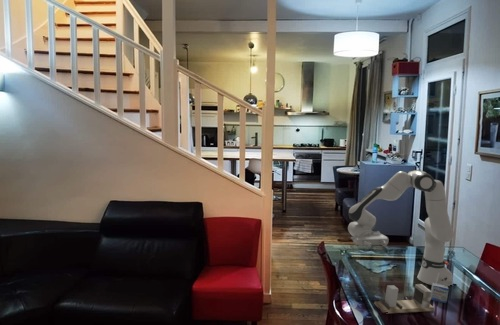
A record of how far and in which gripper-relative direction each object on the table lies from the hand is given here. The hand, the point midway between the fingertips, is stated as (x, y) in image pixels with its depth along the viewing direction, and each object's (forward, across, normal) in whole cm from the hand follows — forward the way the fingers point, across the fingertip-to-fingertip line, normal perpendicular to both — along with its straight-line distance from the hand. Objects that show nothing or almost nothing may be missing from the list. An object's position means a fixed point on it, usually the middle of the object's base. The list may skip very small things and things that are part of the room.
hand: (377, 245), depth 204 cm
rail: (+18, +7, +28) cm, 34 cm away
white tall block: (+18, -1, +25) cm, 31 cm away
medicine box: (+12, +33, +28) cm, 45 cm away
